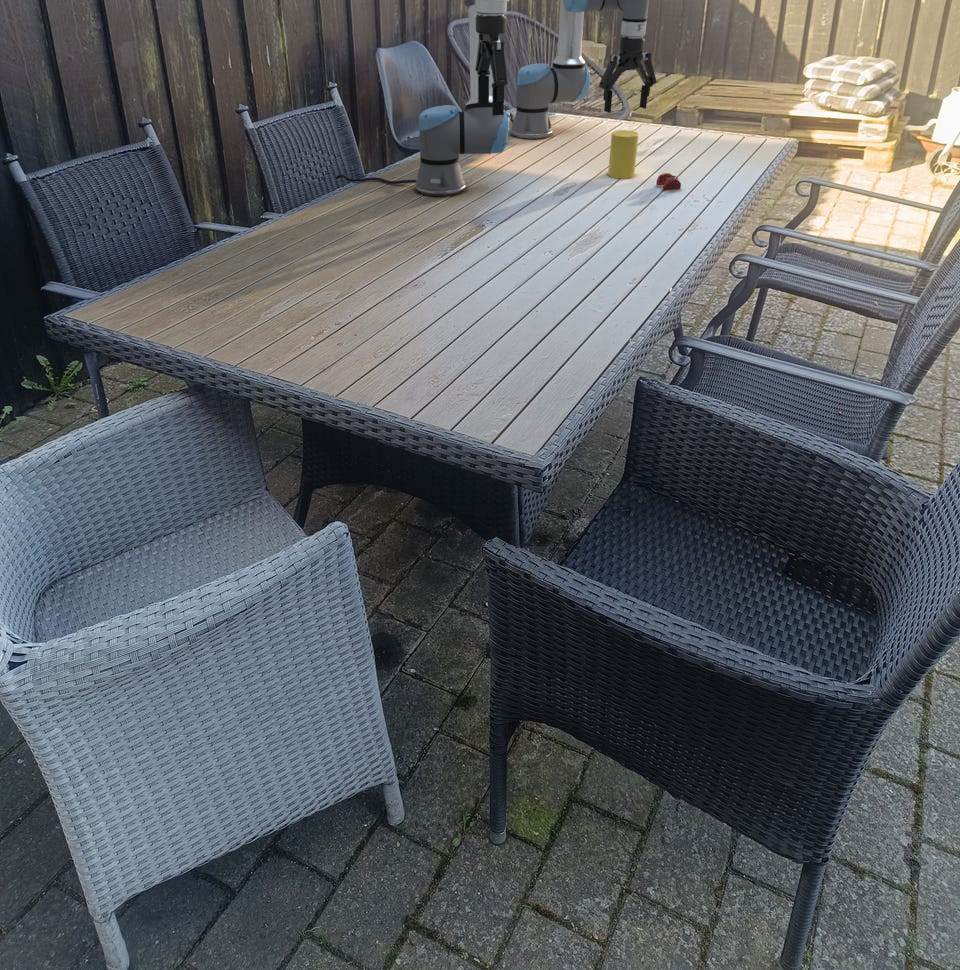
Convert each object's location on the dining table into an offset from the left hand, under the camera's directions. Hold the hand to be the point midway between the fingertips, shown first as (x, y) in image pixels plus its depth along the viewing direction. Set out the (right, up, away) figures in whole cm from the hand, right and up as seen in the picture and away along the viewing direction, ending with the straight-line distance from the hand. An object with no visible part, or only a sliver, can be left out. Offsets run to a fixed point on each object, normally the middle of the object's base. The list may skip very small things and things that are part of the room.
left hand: (490, 109), depth 214 cm
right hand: (+44, +26, +59) cm, 78 cm away
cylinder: (+43, +4, +57) cm, 72 cm away
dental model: (+55, -4, +46) cm, 72 cm away
